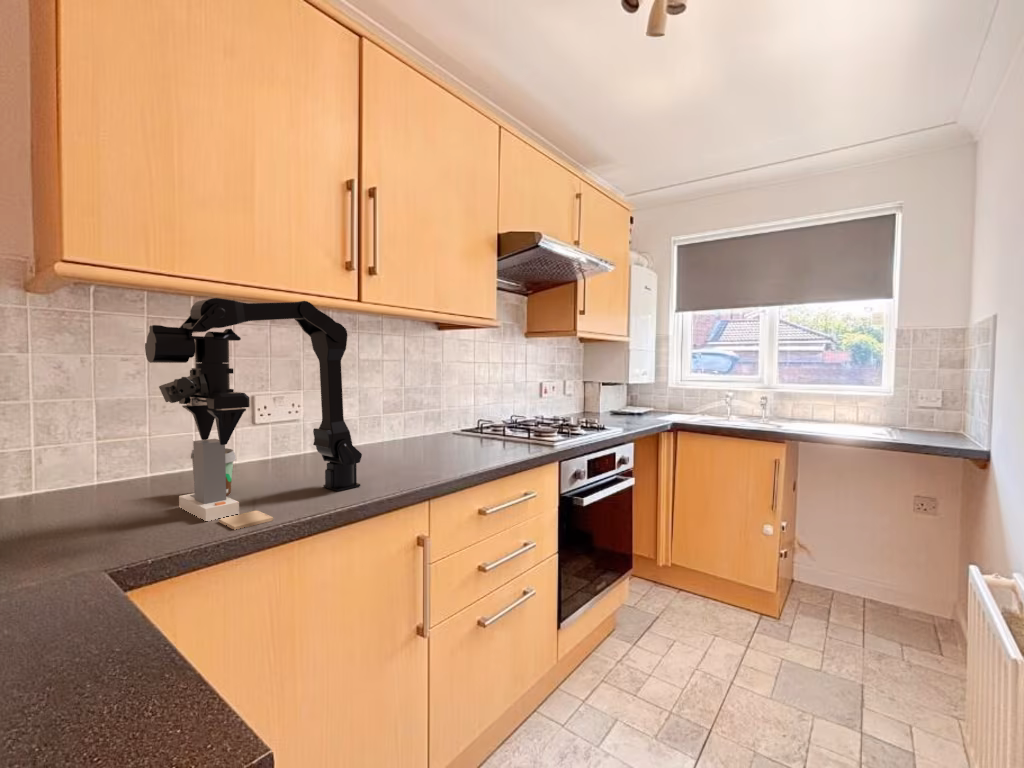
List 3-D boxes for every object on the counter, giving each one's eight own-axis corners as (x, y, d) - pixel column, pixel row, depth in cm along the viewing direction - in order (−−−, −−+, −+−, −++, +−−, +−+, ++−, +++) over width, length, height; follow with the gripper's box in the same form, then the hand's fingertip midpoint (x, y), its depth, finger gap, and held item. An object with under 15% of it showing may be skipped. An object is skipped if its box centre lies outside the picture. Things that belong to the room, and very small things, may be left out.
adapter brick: (216, 495, 102) (214, 438, 101) (226, 499, 99) (225, 441, 98) (194, 499, 99) (193, 441, 98) (204, 504, 96) (202, 443, 95)
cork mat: (256, 513, 98) (256, 510, 98) (273, 520, 94) (273, 517, 94) (218, 522, 93) (218, 518, 93) (234, 530, 89) (234, 526, 89)
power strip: (202, 497, 109) (201, 485, 109) (239, 514, 98) (238, 500, 98) (170, 503, 105) (170, 490, 105) (206, 521, 93) (205, 507, 93)
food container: (248, 493, 113) (247, 450, 112) (220, 500, 107) (220, 455, 107) (218, 486, 119) (217, 445, 118) (191, 492, 114) (190, 449, 113)
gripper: (147, 362, 95) (149, 442, 96) (182, 363, 84) (184, 453, 84) (210, 362, 104) (211, 435, 105) (250, 363, 92) (251, 445, 93)
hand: (213, 442), depth 96 cm, fingers open, 9 cm apart
